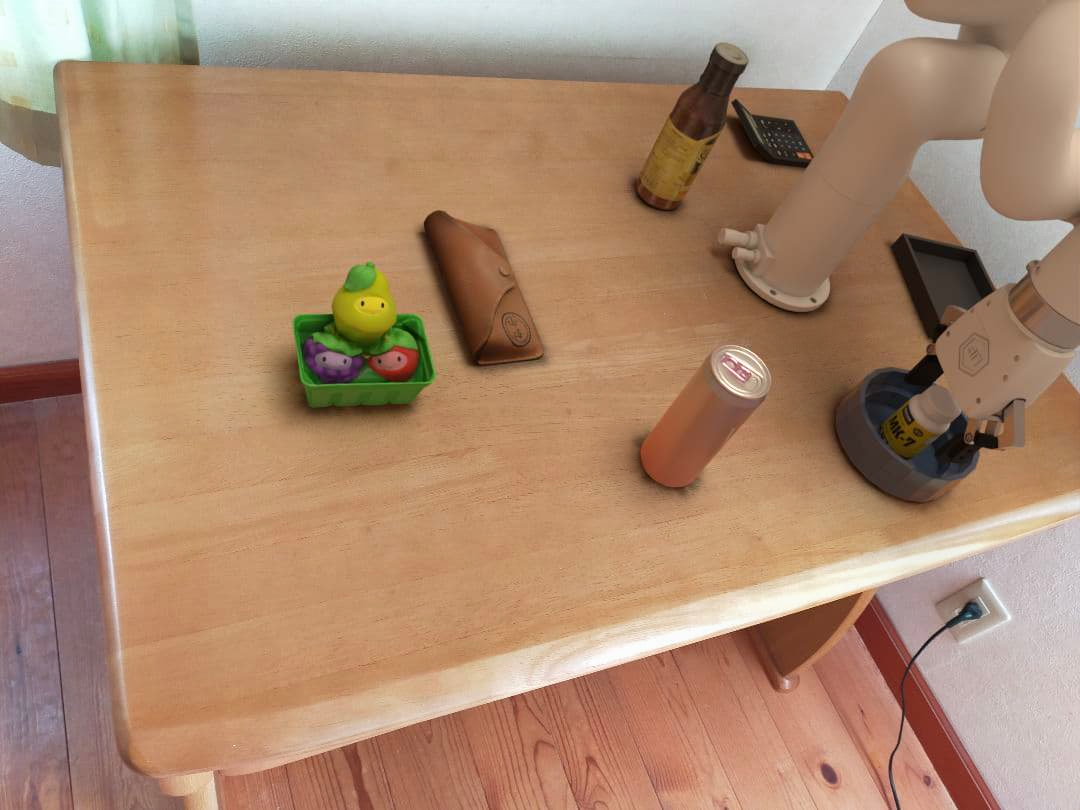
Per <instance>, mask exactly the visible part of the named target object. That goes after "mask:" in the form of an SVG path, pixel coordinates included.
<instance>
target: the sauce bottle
mask: <svg viewBox="0 0 1080 810" xmlns="http://www.w3.org/2000/svg"><path fill="white" fill-rule="evenodd" d="M749 60H750V59H749V56H748V55H747V54H746V53H745V52H744V51H743V50H742V48H740V47H739V46H736V45H735V44H732V43H729V42H723V41H722V42H717V43H716V44H715V46H714V47H713V49H712V51H711V52H710V55H709V58H708V63H707V65H706V66H705V69H704V70H703V72H702V73H701V74H700V76H699V81H697V82H696V83H694V84H692V85H690V86H689V87H687V88H686V89H684V90H683V92H681V94H680V95H679V97H678V98H677V100H676V102H675V105H674V107H673V109H672V111H671V112H670V113H669V114H668V117H667V119H666V120H665V122H664V125H663V126H662V128H661V131H659V134H658V137H657V138H656V140H655V142H654V145H653V147H652V148H651V151H650V152H649V154H648V156H647V159H646V161H645V163H644V164H643V167H642V168H641V171H640V173H639V177H638V179H637V180H636V184H635V186H636V191H637V193H638V195H639V197H640V198H641V199H642V200H643V201H644V202H645V203H647V204H648V205H649V206H651V207H654V208H657V209H659V210H665V211H667V210H668V211H669V210H673V209H675V208H676V207H678V206H679V204H681V201H682V200H683V199H684V198H685V197H686V196H687V194H688V192H689V190H690V189H691V187H692V185H693V183H694V181H695V180H696V179H697V176H698V175H699V173H700V171H701V169H702V168H703V165H704V164H705V162H706V161H707V159H708V157H709V155H710V153H711V152H712V150H713V148H714V147H715V144H716V142H717V141H718V139H719V137H720V136H721V133H722V132H723V129H724V128H725V127H726V126H725V125H726V122H727V121H726V120H727V114H728V108H729V107H728V106H729V102H730V97H731V96H730V95H731V94H732V92H733V89H734V88H735V85H736V83H737V81H738V80H739V77H740V76H741V75H742V74H743V73H744V72H745V71H746V68H747V66H748V64H749Z"/></svg>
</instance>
